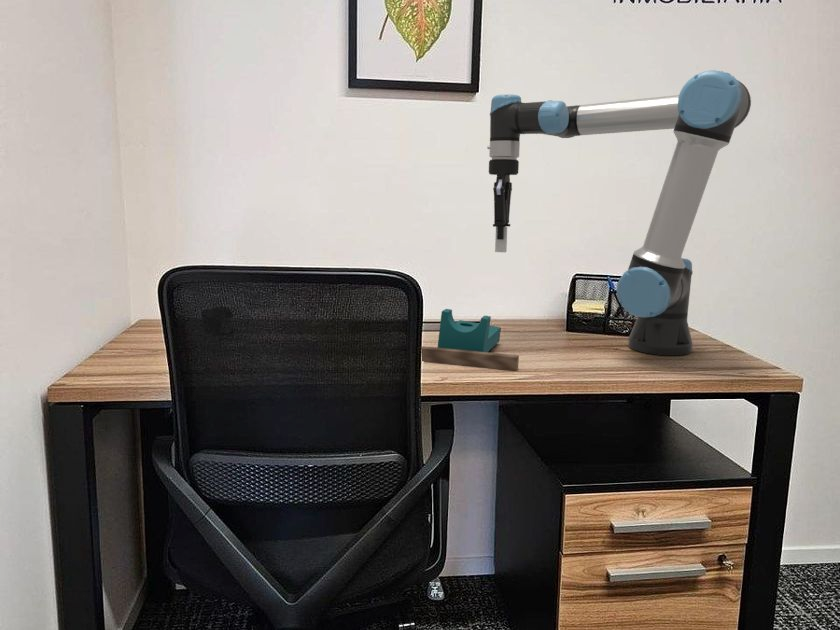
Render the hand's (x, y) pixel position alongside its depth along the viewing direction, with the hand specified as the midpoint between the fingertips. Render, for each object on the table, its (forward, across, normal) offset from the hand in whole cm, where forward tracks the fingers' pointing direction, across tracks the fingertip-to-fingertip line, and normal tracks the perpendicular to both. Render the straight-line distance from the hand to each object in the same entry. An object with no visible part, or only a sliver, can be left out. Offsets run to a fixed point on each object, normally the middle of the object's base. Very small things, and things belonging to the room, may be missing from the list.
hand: (500, 251), depth 179 cm
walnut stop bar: (+23, +32, -1) cm, 39 cm away
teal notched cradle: (+23, +18, -4) cm, 29 cm away
